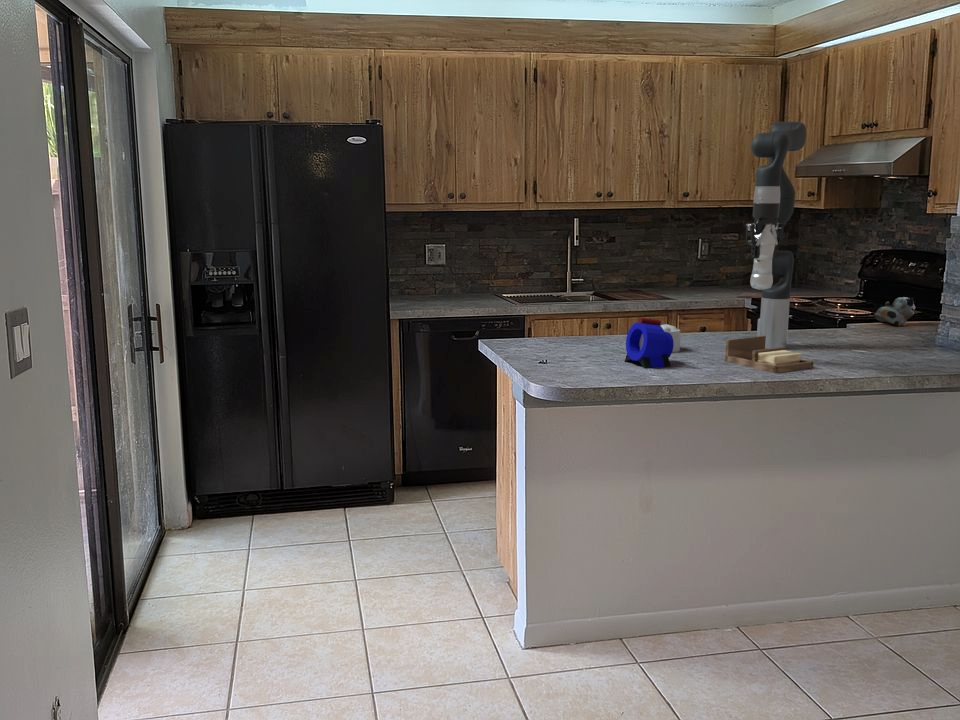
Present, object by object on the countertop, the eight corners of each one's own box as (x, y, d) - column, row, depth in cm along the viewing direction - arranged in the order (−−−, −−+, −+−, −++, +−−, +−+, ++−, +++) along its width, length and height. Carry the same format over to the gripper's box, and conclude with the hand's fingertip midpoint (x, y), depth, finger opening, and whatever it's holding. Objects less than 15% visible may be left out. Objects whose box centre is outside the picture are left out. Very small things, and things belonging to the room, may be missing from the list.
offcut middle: (757, 366, 265) (757, 360, 264) (781, 362, 271) (782, 356, 270) (774, 370, 259) (775, 363, 259) (799, 366, 265) (799, 360, 265)
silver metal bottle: (745, 288, 270) (749, 223, 266) (762, 287, 273) (766, 222, 269) (759, 291, 264) (763, 223, 260) (777, 290, 267) (781, 223, 263)
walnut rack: (724, 365, 274) (726, 339, 272) (761, 360, 281) (763, 335, 280) (774, 377, 256) (776, 350, 255) (812, 371, 264) (814, 345, 263)
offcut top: (757, 359, 265) (758, 353, 265) (783, 356, 270) (784, 350, 270) (774, 363, 259) (774, 356, 259) (800, 360, 265) (801, 353, 264)
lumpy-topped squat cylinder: (683, 352, 296) (684, 326, 294) (649, 354, 292) (650, 328, 290) (667, 346, 306) (668, 322, 304) (633, 348, 302) (634, 323, 300)
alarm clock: (622, 361, 279) (624, 314, 276) (655, 359, 283) (657, 313, 281) (642, 369, 268) (644, 320, 265) (677, 366, 272) (679, 318, 269)
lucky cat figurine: (877, 320, 365) (897, 291, 362) (904, 335, 358) (924, 305, 355) (869, 314, 353) (889, 284, 350) (896, 329, 346) (917, 298, 343)
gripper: (774, 201, 270) (770, 256, 273) (739, 201, 263) (736, 258, 266) (793, 201, 263) (789, 258, 267) (758, 202, 257) (755, 259, 260)
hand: (763, 257), depth 267 cm, fingers closed on silver metal bottle, 6 cm apart
